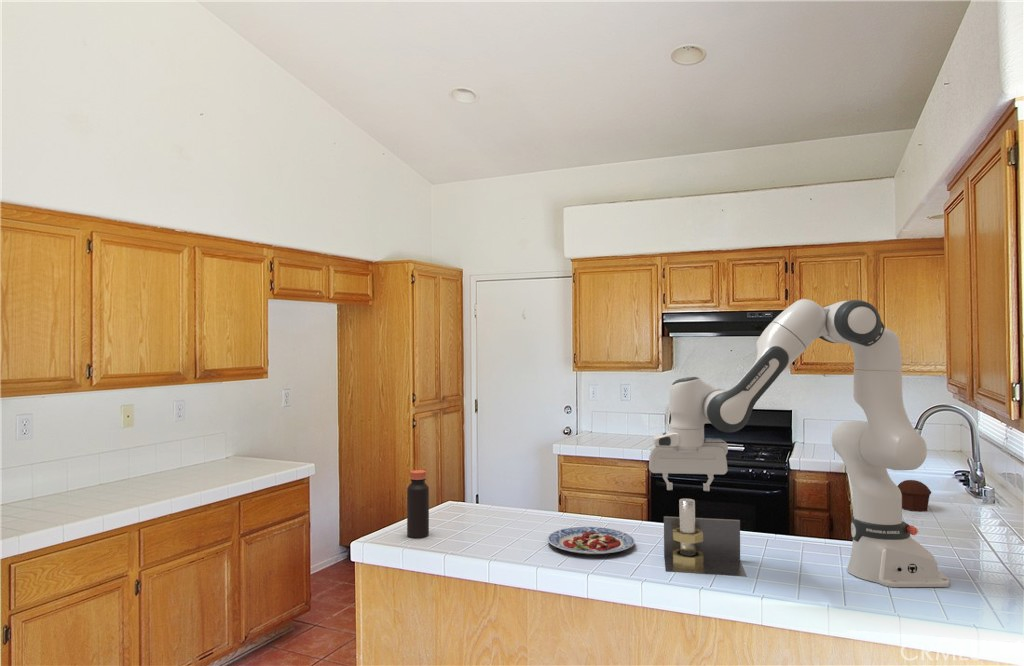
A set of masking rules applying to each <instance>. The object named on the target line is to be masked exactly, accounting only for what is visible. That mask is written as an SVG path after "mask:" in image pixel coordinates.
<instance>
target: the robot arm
mask: <svg viewBox="0 0 1024 666" xmlns="http://www.w3.org/2000/svg"><path fill="white" fill-rule="evenodd" d="M818 338H819V339H821V340H823V341H825V342H828V343H832V344H843V345H844V344H848V345H849V346H850V348H851V350H852V354H853V357H854V360H853V399H854V401H855V402H856V404H857V405H859V407H860V408H861V409H862V410H863V412H864V414H865V418H866V420H867V421H862V420H853V421H846V422H841V423H838V425H837V426H835V428H834V430H833V431H832V433H831V445H832V448H833V450H834V451H835V453H836V454H837V455H839V457H840V458H841V460H842V462H843V463H844V466H845V468H846V471H847V473H848V476H849V479H850V484H851V488H852V502H853V503H852V505H853V506H852V507H853V515H852V516H851V523H850V530H851V531H850V533H851V537H852V544H851V545H852V546H851V553H850V559H849V562H848V565H847V568H846V570H847V572H848V573H850V574H851V575H853V576H854V577H857V578H859V579H862V580H865V581H870V582H872V583H873V582H874V583H877V584H880V585H882V586H885V587H890V588H948V587H949V586H950V580H949V578H948V577H947V576H946V575H945V574H944V573H943V572H942V571H939V567H938V563H937V560H936V558H935V556H934V555H933V554H932V552H930V551H929V550H928V549H927V548H926V547H924V546H923V545H921V544H920V543H919V542H917V540H915V539H914V538H913V537H911V536H916V535H917V534H919V533H918V532H919V528H918V529H917V527H916V526H914V525H910V524H909V523H907V522H905V521H903V509H902V494H901V491H900V489H899V488H898V485H897V484H896V483H895V482H894V481H893V480H892V478H891V477H890V474H889V472H888V470H892V471H914V470H917V469H919V468H920V467H921V466H922V465H923V464H924V462H925V460H926V459H927V455H928V448H927V443H926V441H925V439H924V437H923V436H922V435H921V433H919V432H918V431H917V430H916V429H915V427H914V426H913V425H912V423H911V421H910V419H909V417H908V413H907V412H906V408H905V405H904V400H903V360H902V359H903V358H902V351H901V345H900V340H899V339H900V338H899V337H898V335H897V333H896V332H894V331H893V330H890V329H889V328H885V325H884V323H883V321H882V319H881V316H880V314H879V312H878V310H877V308H876V307H875V306H874V305H873V304H871V303H869V302H867V301H865V300H859V299H851V300H850V299H849V300H842V301H838V302H835V303H833V304H828V305H827V304H826V305H824V306H821V305H820V304H818V302H815V300H811V299H808V298H800V299H797V301H794V302H793V303H792V304H791V305H789V306H788V307H787V308H785V309H784V310H783V311H782V312H781V313H780V314H778V315H777V316H776V317H775V318H774V319H773V320H772V321H771V322H770V323H769V324H768V325H767V326H766V327H765V329H764V330H763V331H762V333H761V334H760V335H759V338H758V339H757V340H756V343H755V345H756V346H755V348H756V355H757V356H756V358H755V361H754V363H753V365H752V366H751V367H750V368H749V370H748V371H747V372H746V373H745V374H744V375H743V376H742V377H741V378H740V380H739V381H738V382H737V383H736V384H735V385H734V386H733V387H732V388H730V389H728V390H725V389H722V388H719V387H716V386H714V385H712V384H709V383H707V382H705V381H704V380H702V379H701V378H700V377H697V376H690V377H689V376H688V377H684V378H683V377H682V378H679V379H676V380H675V381H674V382H672V384H671V385H670V390H669V400H668V401H669V403H668V405H669V406H668V407H669V408H668V409H669V413H670V424H669V430H668V431H665V432H662V433H659V434H655V435H654V436H653V439H652V443H653V445H652V446H651V449H650V452H649V460H648V461H649V462H648V470H649V471H650V472H651V473H652V474H662V479H663V481H664V482H665V483H666V490H667V491H673V486H674V485H673V482H671V481H669V480H668V477H669V474H677V475H678V474H681V475H683V474H685V475H707V478H708V479H707V481H706V483H704V482H703V483H702V485H703V486H702V487H703V489H702V490H703V492H710V485H711V484H712V482H713V480H714V479H715V477H714V475H721V476H722V475H726V474H727V472H728V471H729V470H728V460H727V454H728V453H729V452H728V451H729V446H728V445H729V444H728V443H727V442H726V440H723V439H722V438H705V424H711V425H712V426H713V427H714V428H715V429H717V430H718V431H720V432H722V433H735V432H737V431H740V430H741V429H743V428H744V427H745V426H746V425H747V424H748V422H749V420H750V417H751V414H752V412H753V410H754V407H755V405H756V404H757V402H758V401H759V400H760V399H761V397H762V396H763V395H764V394H765V392H766V391H767V390H768V389H769V388H770V387H771V385H772V384H773V383H774V382H775V381H776V380H777V379H778V377H779V376H780V375H781V374H782V373H783V372H784V371H785V370H786V369H787V368H788V367H789V366H790V365H791V364H793V362H794V361H796V360H797V359H798V358H799V357H800V356H801V355H802V354H803V353H804V352H805V351H806V350H807V349H808V348H809V347H810V345H811V344H812V343H813V342H815V341H816V340H817V339H818Z"/></svg>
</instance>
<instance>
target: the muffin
mask: <svg viewBox="0 0 1024 666" xmlns="http://www.w3.org/2000/svg"><path fill="white" fill-rule="evenodd" d="M897 486H898V488H899V489H900V491H901V494H902V510H904V511H910V512H921V513H923V512H928V508H929V501H930V495H931V494H932V491H931V490H930V488H929V487H928V486H927V485H926V484H925V483H923V482H922V481H919V480H915V479H905V480H903V481H901V482H900V483H898V485H897Z"/></svg>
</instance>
